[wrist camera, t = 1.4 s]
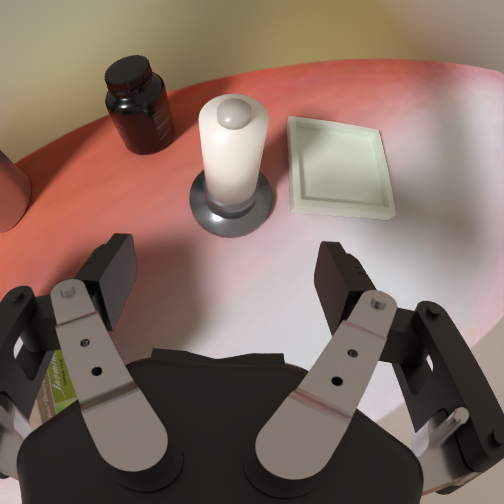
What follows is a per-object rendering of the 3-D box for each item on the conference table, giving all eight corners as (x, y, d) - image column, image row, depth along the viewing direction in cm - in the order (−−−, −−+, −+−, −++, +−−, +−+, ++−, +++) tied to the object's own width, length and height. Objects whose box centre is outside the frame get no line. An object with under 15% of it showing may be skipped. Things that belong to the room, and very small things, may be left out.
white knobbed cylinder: (204, 204, 28) (193, 136, 18) (208, 160, 30) (202, 85, 19) (255, 206, 29) (271, 139, 18) (256, 162, 30) (269, 88, 20)
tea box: (108, 325, 29) (26, 314, 14) (125, 415, 26) (58, 465, 12) (10, 333, 27) (-75, 322, 12) (24, 411, 24) (-56, 431, 10)
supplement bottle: (160, 108, 36) (145, 41, 25) (184, 139, 35) (172, 68, 23) (116, 133, 35) (88, 70, 23) (136, 166, 34) (106, 101, 22)
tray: (290, 212, 33) (293, 205, 31) (286, 125, 37) (288, 116, 35) (388, 220, 34) (396, 214, 32) (373, 138, 38) (378, 130, 36)
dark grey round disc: (187, 236, 32) (181, 222, 28) (194, 164, 34) (191, 145, 30) (270, 239, 32) (276, 226, 28) (270, 167, 35) (275, 148, 31)
